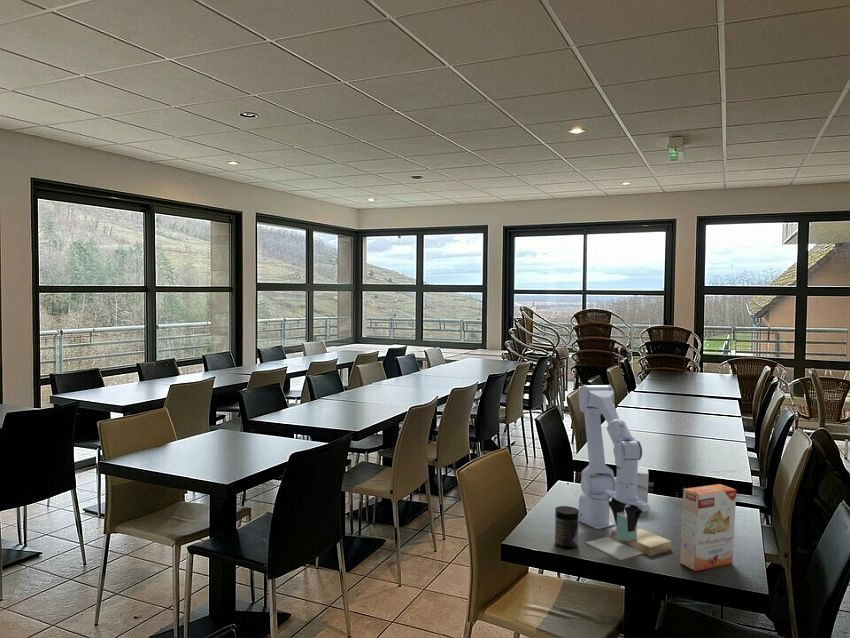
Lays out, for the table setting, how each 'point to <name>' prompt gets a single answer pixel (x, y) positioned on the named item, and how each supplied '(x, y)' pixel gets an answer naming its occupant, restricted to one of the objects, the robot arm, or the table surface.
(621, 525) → the teal block
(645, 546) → the oak slab
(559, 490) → the table surface
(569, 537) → the supplement container
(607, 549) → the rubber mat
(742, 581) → the table surface
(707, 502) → the cracker box
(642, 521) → the table surface
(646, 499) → the supplement box
